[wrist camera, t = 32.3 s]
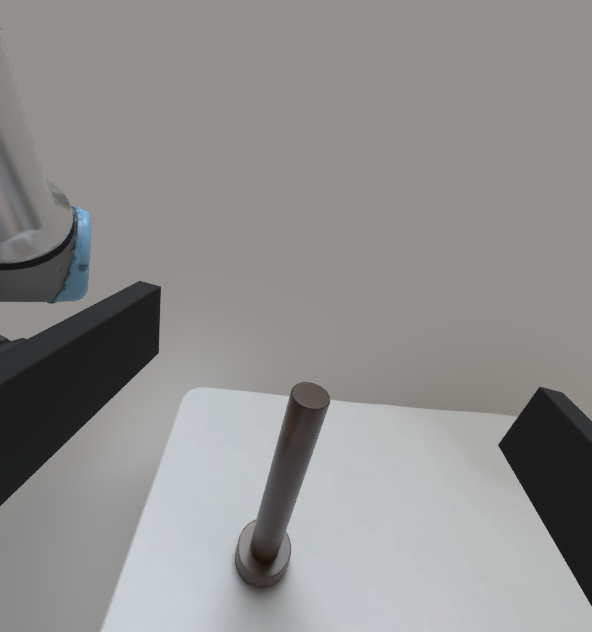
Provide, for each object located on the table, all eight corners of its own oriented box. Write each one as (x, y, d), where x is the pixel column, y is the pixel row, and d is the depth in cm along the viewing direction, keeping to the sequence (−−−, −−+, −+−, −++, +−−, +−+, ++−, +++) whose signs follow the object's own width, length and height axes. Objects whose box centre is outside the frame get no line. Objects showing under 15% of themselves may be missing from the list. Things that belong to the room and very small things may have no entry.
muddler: (227, 578, 24) (267, 409, 17) (244, 521, 28) (282, 364, 21) (282, 595, 24) (346, 431, 16) (291, 535, 28) (346, 382, 20)
